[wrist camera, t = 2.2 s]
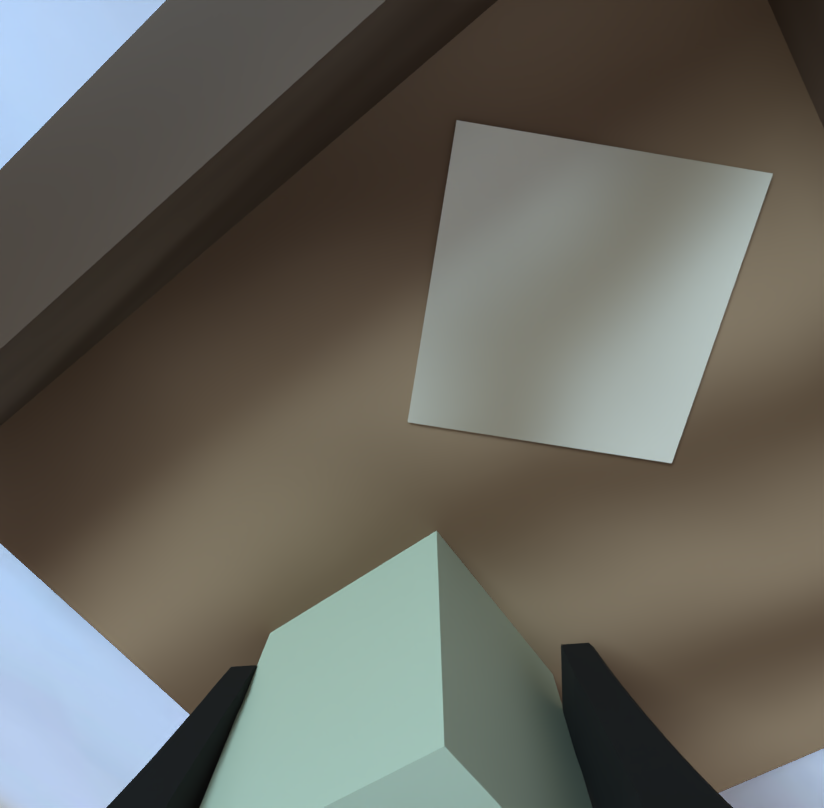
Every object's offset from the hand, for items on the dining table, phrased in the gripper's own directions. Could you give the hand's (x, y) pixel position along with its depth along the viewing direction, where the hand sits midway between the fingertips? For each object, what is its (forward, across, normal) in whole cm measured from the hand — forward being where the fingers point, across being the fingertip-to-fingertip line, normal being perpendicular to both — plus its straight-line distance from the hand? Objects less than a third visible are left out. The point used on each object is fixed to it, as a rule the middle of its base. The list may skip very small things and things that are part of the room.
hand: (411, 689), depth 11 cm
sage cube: (+1, 0, 0) cm, 1 cm away
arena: (+2, -3, -3) cm, 5 cm away
